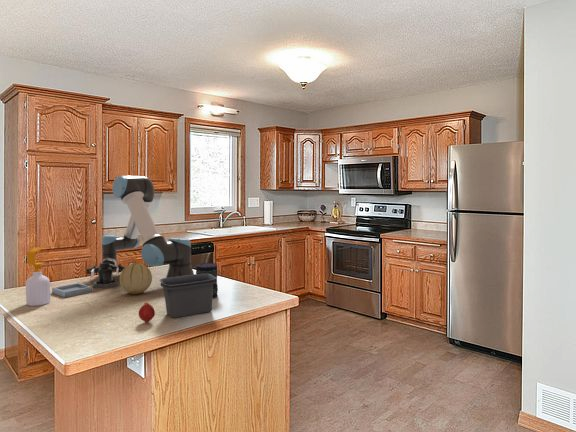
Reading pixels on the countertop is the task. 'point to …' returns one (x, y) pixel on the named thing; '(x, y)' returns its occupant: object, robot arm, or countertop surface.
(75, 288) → the tray
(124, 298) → the countertop surface
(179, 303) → the storage bin
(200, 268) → the storage jar
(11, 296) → the countertop surface
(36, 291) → the soap bottle
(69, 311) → the countertop surface
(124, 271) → the cantaloupe
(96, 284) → the holster ring
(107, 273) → the supplement bottle
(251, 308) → the countertop surface
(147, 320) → the pomegranate
